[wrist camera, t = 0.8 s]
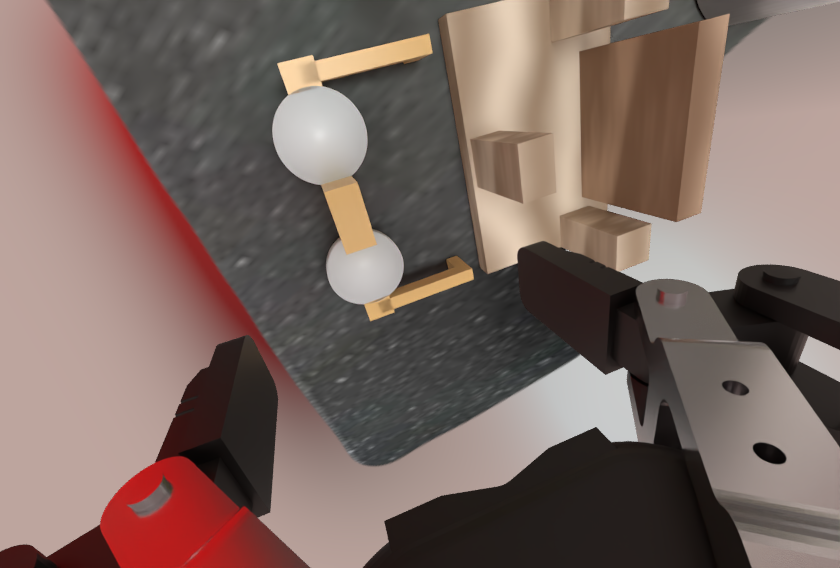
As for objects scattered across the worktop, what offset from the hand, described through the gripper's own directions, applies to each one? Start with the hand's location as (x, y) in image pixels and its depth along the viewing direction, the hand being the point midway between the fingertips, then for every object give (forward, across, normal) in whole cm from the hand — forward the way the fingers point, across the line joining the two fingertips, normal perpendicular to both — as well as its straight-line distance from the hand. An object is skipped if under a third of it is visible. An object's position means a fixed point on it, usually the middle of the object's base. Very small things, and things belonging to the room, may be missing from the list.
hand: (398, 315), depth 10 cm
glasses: (+19, -3, 0) cm, 19 cm away
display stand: (+19, -16, 0) cm, 25 cm away
